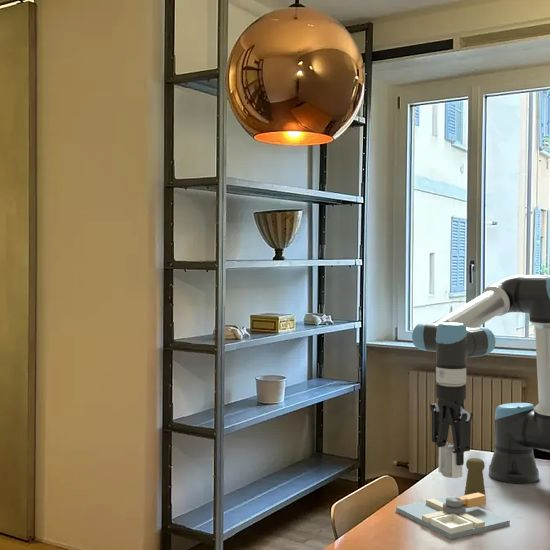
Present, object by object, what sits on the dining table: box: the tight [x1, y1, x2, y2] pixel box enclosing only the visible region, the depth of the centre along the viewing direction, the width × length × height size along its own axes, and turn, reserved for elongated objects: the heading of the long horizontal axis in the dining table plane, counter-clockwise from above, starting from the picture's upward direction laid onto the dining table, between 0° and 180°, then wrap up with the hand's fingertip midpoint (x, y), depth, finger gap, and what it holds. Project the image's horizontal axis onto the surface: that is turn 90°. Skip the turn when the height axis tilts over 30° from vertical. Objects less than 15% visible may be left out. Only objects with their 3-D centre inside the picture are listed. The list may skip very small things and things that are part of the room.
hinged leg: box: [446, 492, 487, 508], centre depth 195 cm, size 12×4×2 cm, turn 118°
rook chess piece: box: [441, 442, 455, 479], centre depth 185 cm, size 4×4×8 cm
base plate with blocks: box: [395, 495, 510, 540], centre depth 195 cm, size 20×22×4 cm
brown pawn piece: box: [463, 457, 486, 496], centre depth 212 cm, size 6×6×11 cm
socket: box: [431, 514, 473, 534], centre depth 185 cm, size 7×7×2 cm
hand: (450, 474), depth 185 cm, fingers closed on rook chess piece, 4 cm apart
